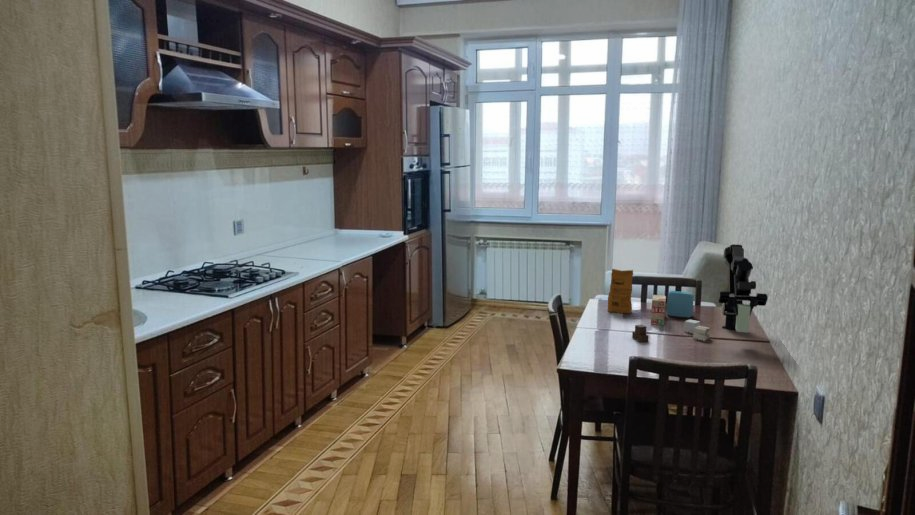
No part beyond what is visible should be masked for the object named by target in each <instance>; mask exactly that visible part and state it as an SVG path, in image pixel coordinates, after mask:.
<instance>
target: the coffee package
mask: <svg viewBox="0 0 915 515" xmlns="http://www.w3.org/2000/svg"><path fill="white" fill-rule="evenodd" d="M610 276H611V277H610V278H611V280H610V285H609V286H610V287H609V293H608V296H607V312H608V311H610V312H609V313H618V314H631V312H632V311H633V306H632V293H633V277H634V270H633V269H628V270H620V269H615V268H612V270H611V274H610Z"/></svg>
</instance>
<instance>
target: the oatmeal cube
mask: <svg viewBox="0 0 915 515" xmlns="http://www.w3.org/2000/svg"><path fill="white" fill-rule="evenodd" d="M710 332H711V328H710V327H707V326H703V325H700V326H697V327H695V328H694V334H693V335H692V337H693V338H692V339H693V340H697V339H698V341H702V340H703V342H705V341H707V339H708V340H709V339H710Z"/></svg>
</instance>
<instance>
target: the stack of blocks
mask: <svg viewBox="0 0 915 515" xmlns="http://www.w3.org/2000/svg"><path fill="white" fill-rule="evenodd" d="M651 298H652V299H651V311H650V313H651V314H650V325H651V326H665V317H666V303H667V302H666V301H667V300H666V299H667V296H666V295H662V294H652V297H651Z"/></svg>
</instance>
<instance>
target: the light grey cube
mask: <svg viewBox="0 0 915 515" xmlns="http://www.w3.org/2000/svg"><path fill="white" fill-rule="evenodd" d="M697 326H701V320H694V319H687V320H685V321H684V327H683V328H684V329H683V330H684V331H683V332H684V333H688V332H689V333H690V334H693V335H694V328H695V327H697ZM689 333H688V334H689Z"/></svg>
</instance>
